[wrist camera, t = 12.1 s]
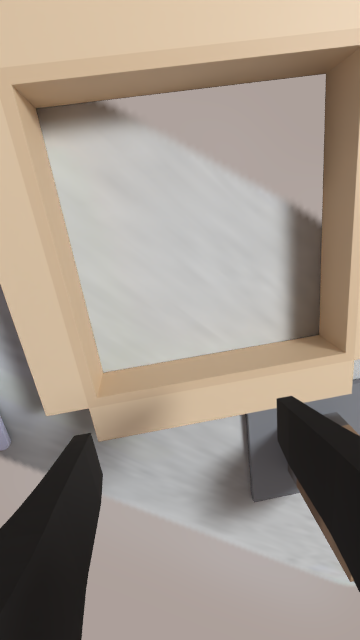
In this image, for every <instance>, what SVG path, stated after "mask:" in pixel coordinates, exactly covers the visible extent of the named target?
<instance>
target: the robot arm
mask: <svg viewBox="0 0 360 640" xmlns="http://www.w3.org/2000/svg"><path fill="white" fill-rule="evenodd" d="M277 440H278V443H279V445H280V447H281V449H282V452H283V454H284V456H285V458H286V460H287V462H288V464H289V466H290V468H291V470H292V471H293V473H294V475H295V476H296V478H297V479H298V481H299V483H300V484H301V486H302V488H303V489H304V491H305V492H306V494H307V496H308V497H309V499H310V501H311V502H312V504H313V505H314V507H315V509H316V510H317V512H318V513H319V515H320V517H321V518H322V520H323V522H324V523H325V525H326V527H327V529H328V530H329V532H330V534H331V536H332V537H333V539H334V541H335V543H336V545H337V547H338V549H339V551H340V553H341V555H342V557H343V559H344V561H345V563H346V565H347V567H348V569H349V571H350V573H351V575H352V578H353V580H354V582H355V584H356V586H357V588H358V590H359V592H360V436H359V435H357V434H355V433H353V432H351V431H350V430H348V429H346V428H344V427H342V426H341V425H339V424H337V423H336V422H334V421H332V420H330V419H329V418H327V417H325V416H324V415H322V414H321V413H319V412H317V411H316V410H314V409H312V408H311V407H309V406H308V405H306V404H304V403H303V402H301V401H300V400H298V399H296V398H295V397H293V396H288V397H282V398H277ZM10 443H11V440H10V437H9V435H8V433H7V430H6V428H5V425H4V423H3V420H2V418H1V416H0V451H2V450H6V449H7V448H8V447H9V445H10ZM102 479H103V474H102V470H101V467H100V463H99V460H98V456H97V453H96V449H95V446H94V442H93V439H92V436H91V433H88V434H83V435H77V436H74V437H73V439H72V440H71V441H70V443H69V444H68V445H67V447H66V448H65V449H64V451H63V452H62V453H61V455H60V456H59V458H58V459H57V460H56V462H55V463H54V464H53V466H52V467H51V468H50V470H49V471H48V472H47V474H46V475H45V476H44V478H43V479H42V480H41V482H40V483H39V484H38V486H37V487H36V488H35V489H34V490H33V492H32V493H31V494H30V495H29V497H28V498H27V499H26V500H25V501H24V503H23V504H22V505H21V506H20V507H19V509H18V510H17V511H16V512H15V513H14V514H13V515H12V517H11V518H10V519H9V520H8V521H7V522H6V523H5V524H4V525H3V526H2V527H1V528H0V640H81V637H82V625H83V615H84V605H85V594H86V586H87V578H88V572H89V566H90V561H91V555H92V550H93V545H94V539H95V534H96V528H97V523H98V517H99V511H100V506H101V496H102Z"/></svg>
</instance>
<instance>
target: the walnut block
mask: <svg viewBox="0 0 360 640" xmlns="http://www.w3.org/2000/svg"><path fill="white" fill-rule="evenodd" d="M323 415H324V416H325V417H327V418H329V419H330V420H332V421H334V422H336V423H337V424H339V425H341V426H342V427H344V428H346V429H348V430H350V431H351V432H353V433H355V434H357V435H359V434H358V433H357V432H356V431H355V430H354V429H353V428H352V427H351V426H350V425H349V424H348V423H347V422H346V421H345V420H344V419H343V418H342V417H341V416H340V415H339V414H338V413H337V412H333V413H328V414H323ZM359 436H360V435H359ZM288 472H289V474H290V475H291V477H292V479H293V481H294V483H295V484H296V486H297V488H298V490H299V491H300V493H301V495H302V497H303V499H304V500H305V502H306V504H307V506H308V507H309V509H310V511H311V513H312V515H313V516H314V518H315V520H316V522H317V523H318V525H319V527H320V529H321V531H322V532H323V534H324V536H325V538H326V539H327V541H328V543H329V545H330V547H331V548H332V550H333V552H334V554H335V555H336V557H337V559H338V561H339V563H340V564H341V566H342V568H343V570H344V571H345V573H346V575H347V577H348V579H349V580H350V582H352V581H354V580H353V578H352V575H351V573H350V571H349V569H348V567H347V565H346V563H345V561H344V559H343V557H342V555H341V553H340V551H339V549H338V547H337V545H336V543H335V541H334V539H333V537H332V536H331V534H330V532H329V530H328V529H327V527H326V525H325V523H324V522H323V520H322V518H321V517H320V515H319V513H318V512H317V510H316V509H315V507H314V505H313V504H312V502H311V501H310V499H309V497H308V496H307V494H306V492H305V491H304V489H303V488H302V486H301V484H300V483H299V481H298V479H297V478H296V476H295V475H294V473H293V471H292V470H291V468H290V466H289V464H288Z"/></svg>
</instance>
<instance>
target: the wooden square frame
mask: <svg viewBox="0 0 360 640" xmlns="http://www.w3.org/2000/svg"><path fill="white" fill-rule="evenodd" d="M318 74H326V97H325V135H324V172H323V210H322V247H321V285H320V323H319V335H316V336H310V337H305V338H299V339H293V340H288V341H282V342H276V343H270V344H265V345H259V346H253V347H248V348H242V349H236V350H231V351H225V352H219V353H214V354H208V355H202V356H197V357H191V358H185V359H179V360H174V361H168V362H162V363H157V364H151V365H145V366H140V367H134V368H128V369H123V370H117V371H111V372H105V373H103V371H102V367H101V363H100V359H99V355H98V351H97V347H96V343H95V339H94V335H93V331H92V327H91V324H90V320H89V316H88V312H87V308H86V304H85V300H84V296H83V292H82V288H81V284H80V280H79V276H78V273H77V269H76V265H75V261H74V257H73V253H72V249H71V245H70V241H69V237H68V233H67V229H66V225H65V222H64V218H63V214H62V210H61V206H60V202H59V198H58V194H57V190H56V186H55V182H54V178H53V174H52V170H51V167H50V163H49V159H48V155H47V151H46V147H45V143H44V139H43V135H42V131H41V127H40V123H39V119H38V116H37V112H36V108H43V107H52V106H60V105H68V104H77V103H85V102H93V101H102V100H110V99H118V98H126V97H134V96H143V95H152V94H160V93H168V92H177V91H185V90H193V89H202V88H210V87H218V86H227V85H235V84H243V83H252V82H259V81H269V80H277V79H285V78H293V77H302V76H310V75H318ZM0 285H1V288H2V290H3V293H4V296H5V299H6V302H7V305H8V308H9V311H10V313H11V316H12V319H13V322H14V325H15V328H16V331H17V333H18V336H19V339H20V342H21V345H22V348H23V351H24V354H25V356H26V359H27V362H28V365H29V368H30V371H31V374H32V376H33V379H34V382H35V385H36V388H37V391H38V394H39V397H40V399H41V402H42V405H43V408H44V411H45V414H46V416H50V415H56V414H61V413H67V412H72V411H78V410H83V409H89V410H90V414H91V417H92V421H93V424H94V428H95V431H96V435H97V438H98V442H100V441H105V440H110V439H116V438H121V437H126V436H131V435H137V434H142V433H147V432H153V431H158V430H163V429H168V428H174V427H179V426H184V425H189V424H195V423H200V422H205V421H211V420H216V419H221V418H226V417H232V416H237V415H242V414H247V413H253V412H258V411H263V410H268V409H274V408H277V398H282V397H288V396H293V397H295V398H296V399H298V400H300V401H301V402H303V403H305V402H311V401H316V400H321V399H326V398H332V397H337V396H342V395H348V394H352V383H353V369H354V360H357V359H360V0H0Z"/></svg>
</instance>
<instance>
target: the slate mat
mask: <svg viewBox="0 0 360 640" xmlns="http://www.w3.org/2000/svg"><path fill="white" fill-rule="evenodd" d="M304 404H306V405H308V406H309V407H311V408H312V409H314V410H316V411H317V412H319V413H321V414H322V415H323V414H328V413H333V412H337V413H338V414H339V415H340V416H341V417H342V418H343V419H344V420H345V421H346V422H347V423H348V424H349V425H350V426H351V427H352V428H353V429H354V430H355V431H356V432H357V433H358V434H359V435H360V379H355V380H353V383H352V394H348V395H342V396H337V397H332V398H326V399H321V400H316V401H311V402H305V403H304ZM246 419H247V433H248V447H249V461H250V475H251V489H252V498H253V501H254V502H258V501H263V500H267V499H272V498H277V497H282V496H287V495H291V494H296V493H300V491H299V490H298V488H297V486H296V484H295V483H294V481H293V479H292V477H291V475H290V474H289V472H288V462H287V460H286V458H285V456H284V454H283V452H282V449H281V447H280V445H279V443H278V440H277V408H274V409H268V410H263V411H258V412H253V413H247V414H246Z"/></svg>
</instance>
